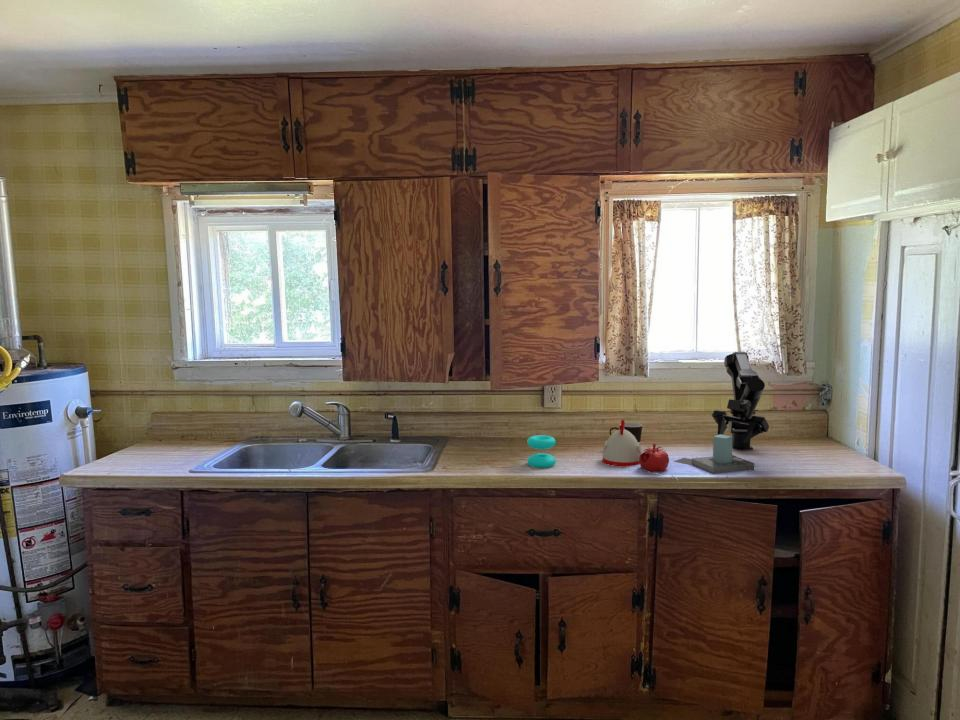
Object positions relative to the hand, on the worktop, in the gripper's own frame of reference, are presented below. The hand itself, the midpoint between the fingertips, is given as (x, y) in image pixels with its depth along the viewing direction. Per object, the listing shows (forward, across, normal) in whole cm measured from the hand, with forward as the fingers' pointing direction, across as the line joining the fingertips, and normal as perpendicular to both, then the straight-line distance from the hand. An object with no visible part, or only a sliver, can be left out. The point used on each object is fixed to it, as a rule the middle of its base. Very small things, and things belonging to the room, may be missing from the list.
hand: (730, 440), depth 216 cm
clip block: (+10, 0, +2) cm, 10 cm away
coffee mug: (+13, -37, 0) cm, 39 cm away
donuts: (+40, -44, -28) cm, 66 cm away
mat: (+12, -12, 0) cm, 17 cm away
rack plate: (+10, 0, +2) cm, 10 cm away
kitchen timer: (+23, -28, -11) cm, 38 cm away
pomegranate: (+24, -14, -11) cm, 30 cm away
